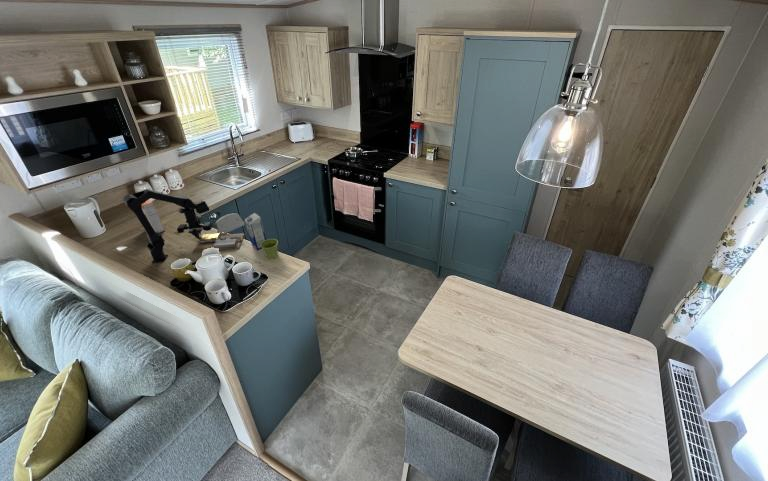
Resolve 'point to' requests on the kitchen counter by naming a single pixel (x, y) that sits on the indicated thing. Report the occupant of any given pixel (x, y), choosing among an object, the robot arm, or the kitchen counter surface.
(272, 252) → the plant pot
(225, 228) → the grey rounded flat block
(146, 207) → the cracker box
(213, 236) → the brass leaf
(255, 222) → the milk carton
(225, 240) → the hinge bed
